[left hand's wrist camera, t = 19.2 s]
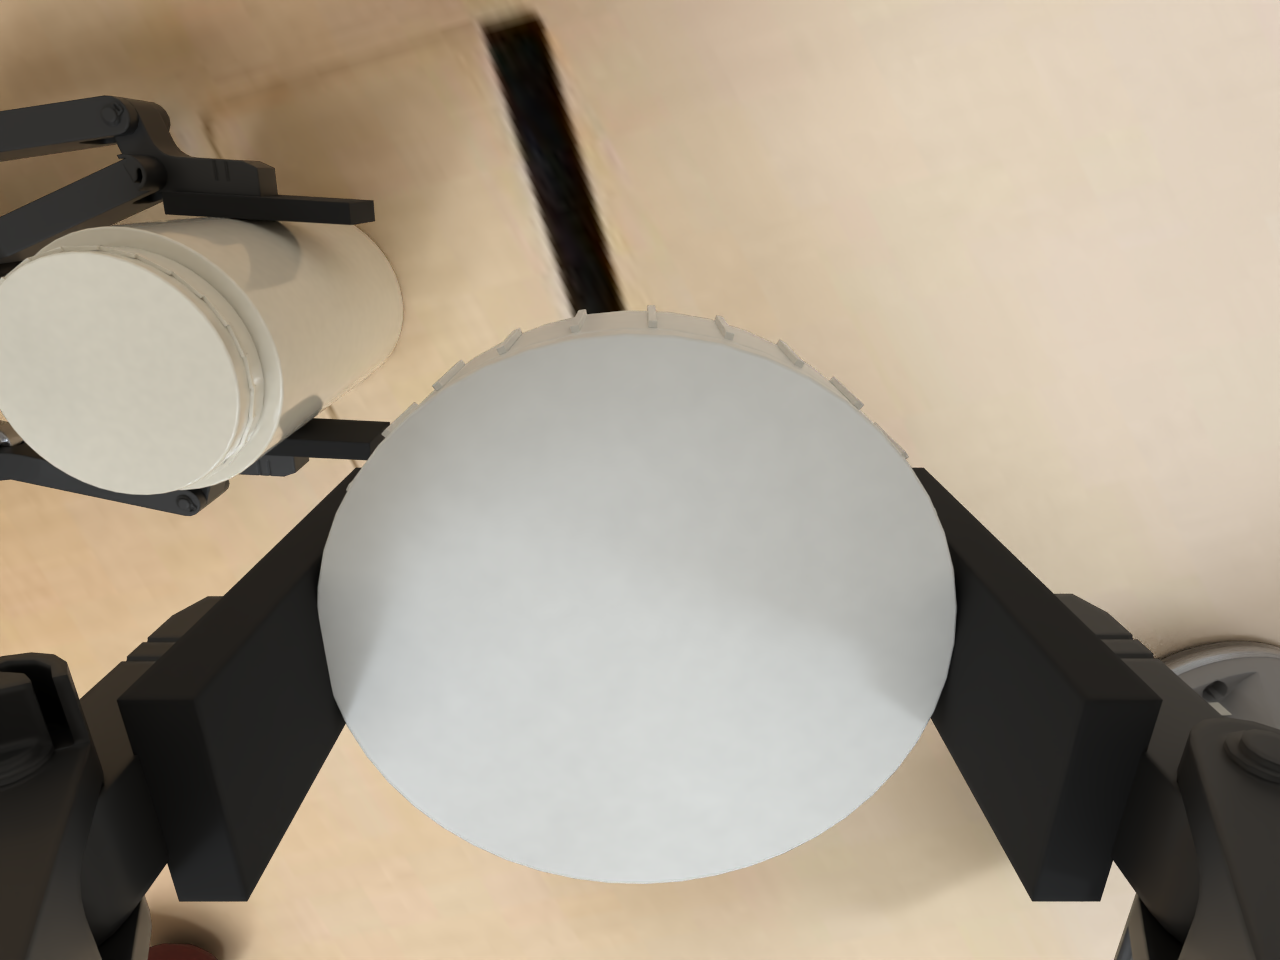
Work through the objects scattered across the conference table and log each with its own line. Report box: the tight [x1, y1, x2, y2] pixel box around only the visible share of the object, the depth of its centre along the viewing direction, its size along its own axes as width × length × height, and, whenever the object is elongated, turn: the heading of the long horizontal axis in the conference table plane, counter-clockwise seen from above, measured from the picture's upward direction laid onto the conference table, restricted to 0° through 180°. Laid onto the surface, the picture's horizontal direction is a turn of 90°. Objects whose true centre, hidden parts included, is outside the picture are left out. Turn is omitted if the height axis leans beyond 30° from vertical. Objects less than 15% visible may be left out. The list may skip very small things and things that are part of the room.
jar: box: [0, 217, 403, 495], centre depth 28 cm, size 8×8×15 cm
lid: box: [317, 305, 957, 884], centre depth 11 cm, size 9×9×2 cm
